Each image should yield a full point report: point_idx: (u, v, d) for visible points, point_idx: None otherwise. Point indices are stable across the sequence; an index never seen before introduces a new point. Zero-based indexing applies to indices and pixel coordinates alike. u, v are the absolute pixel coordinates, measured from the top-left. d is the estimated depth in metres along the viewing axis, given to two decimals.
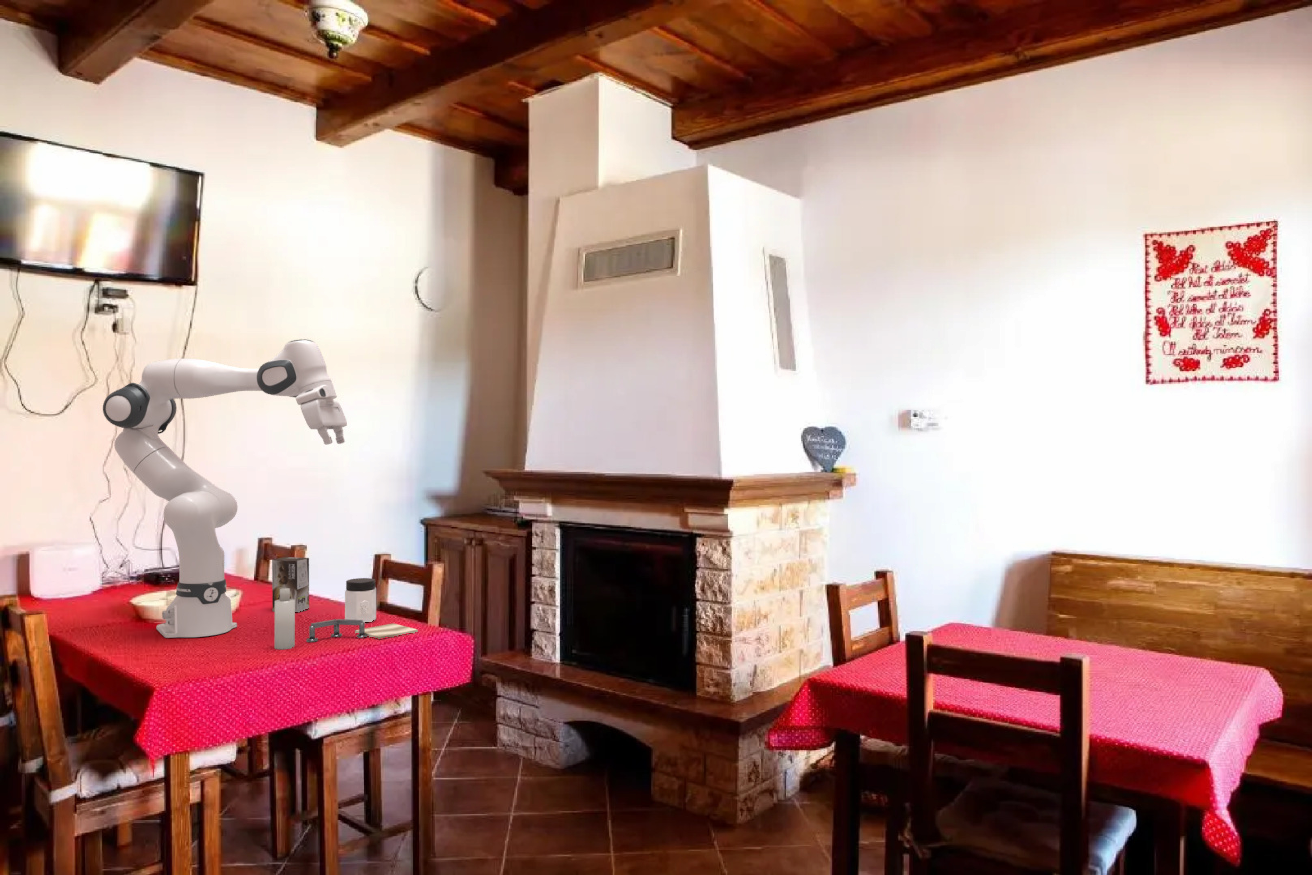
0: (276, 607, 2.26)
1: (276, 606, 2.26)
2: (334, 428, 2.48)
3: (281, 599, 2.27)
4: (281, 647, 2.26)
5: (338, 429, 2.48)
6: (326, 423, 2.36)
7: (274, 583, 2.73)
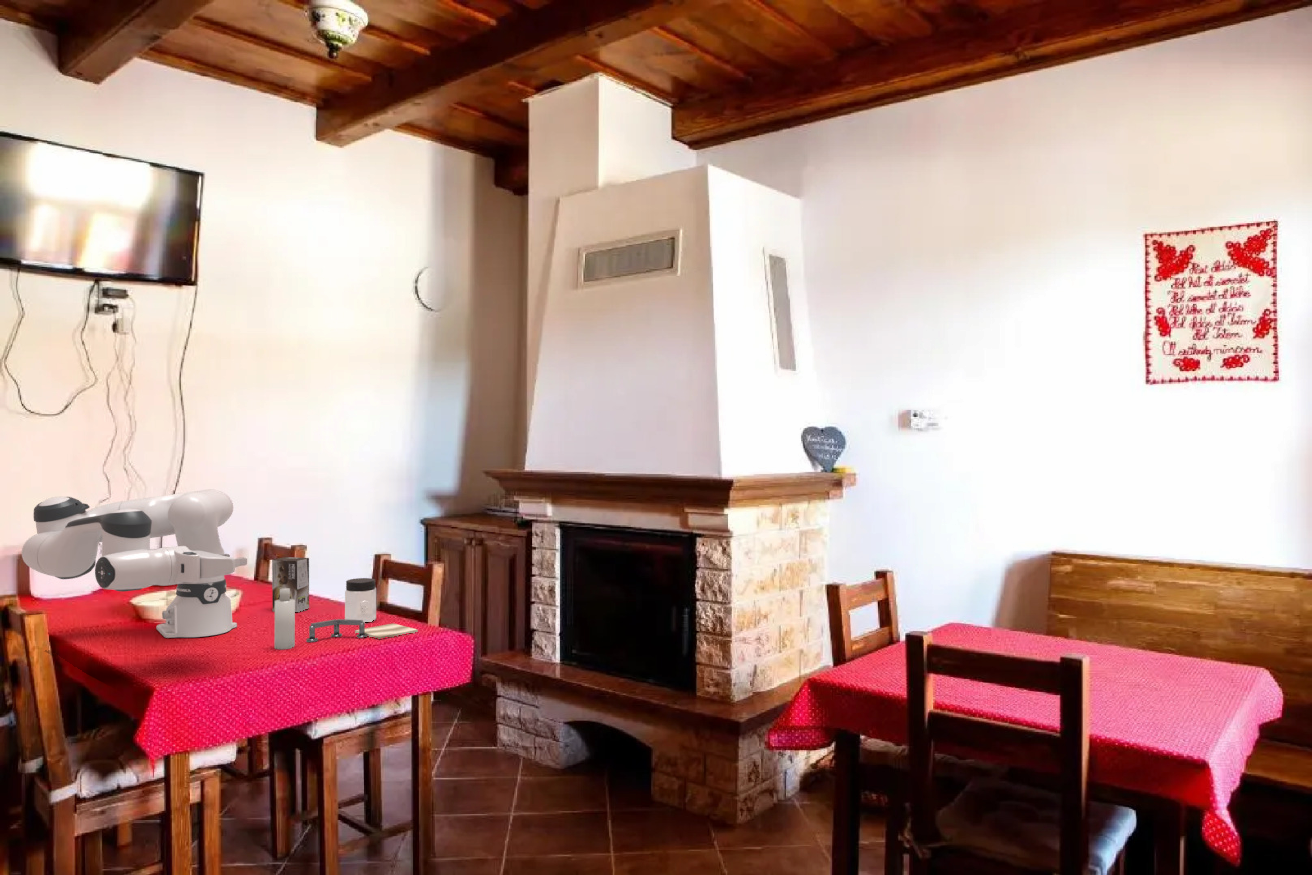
0: (276, 607, 2.26)
1: (276, 606, 2.26)
2: None
3: (281, 599, 2.27)
4: (281, 647, 2.26)
5: None
6: (227, 556, 2.11)
7: (274, 583, 2.73)
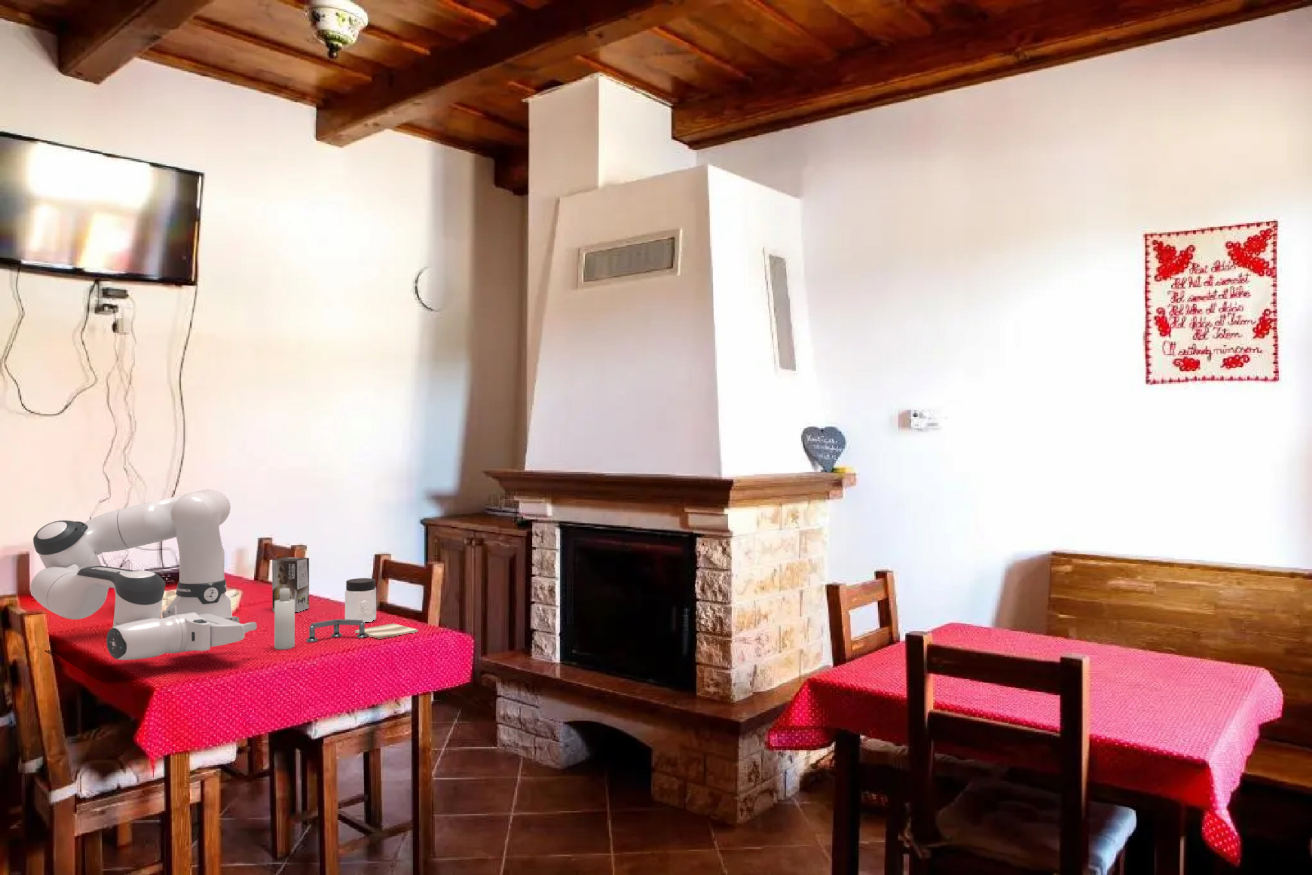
0: (276, 607, 2.26)
1: (276, 606, 2.26)
2: None
3: (281, 599, 2.27)
4: (281, 647, 2.26)
5: None
6: (236, 622, 2.12)
7: (274, 583, 2.73)
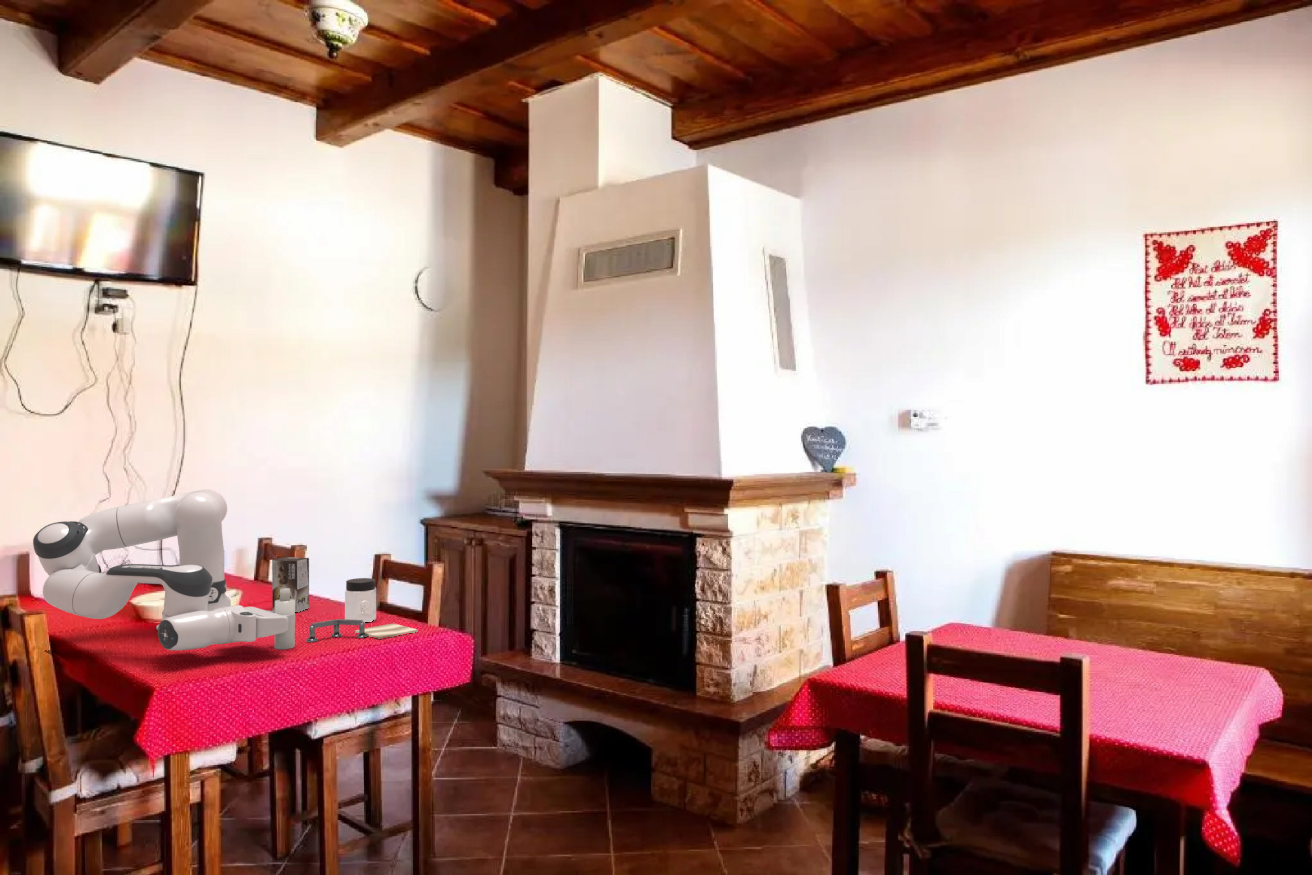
0: (276, 607, 2.26)
1: (276, 606, 2.26)
2: None
3: (281, 599, 2.27)
4: (281, 647, 2.26)
5: None
6: None
7: (274, 583, 2.73)
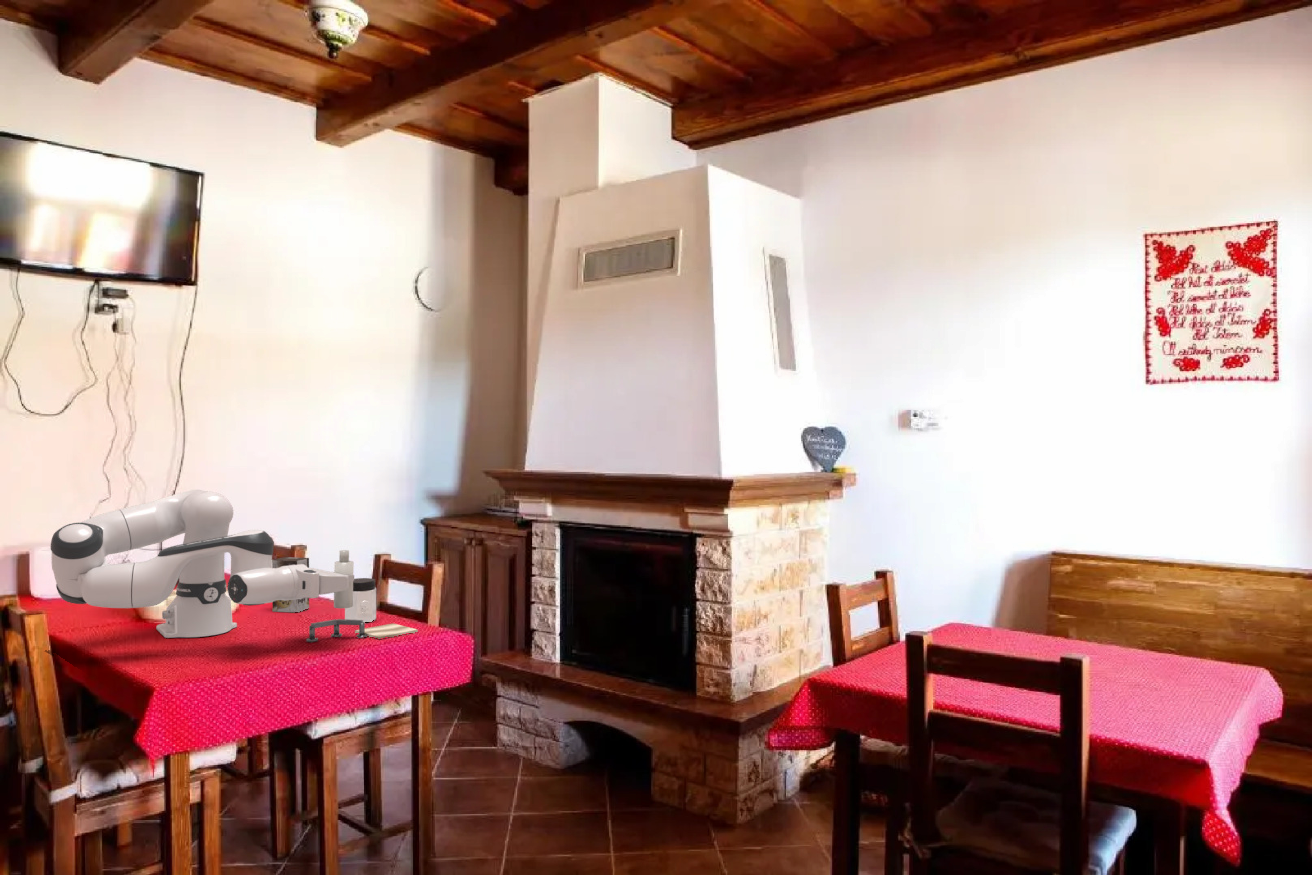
0: (336, 568, 2.37)
1: (336, 567, 2.37)
2: None
3: (341, 560, 2.38)
4: (340, 606, 2.36)
5: None
6: (341, 574, 2.31)
7: None
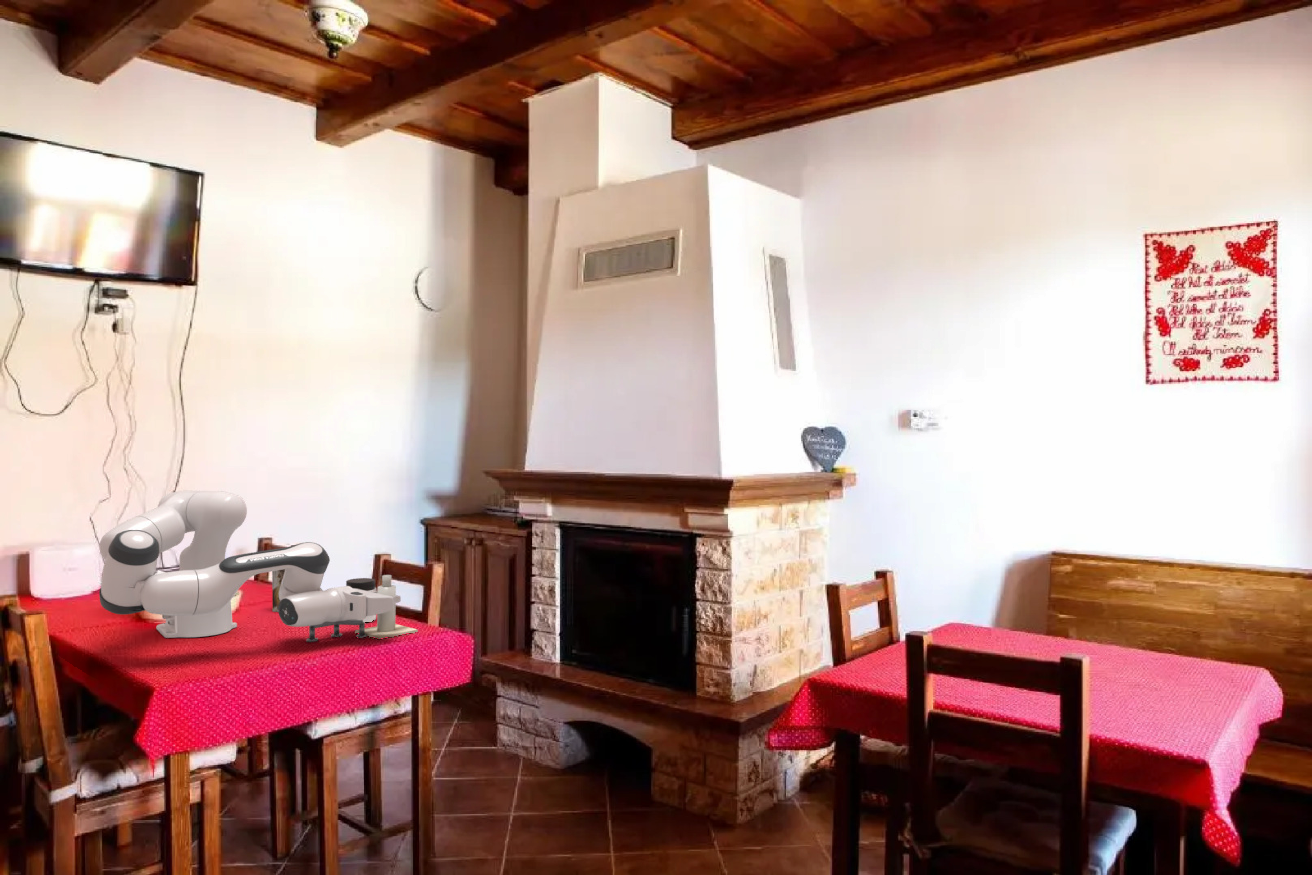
0: (379, 592, 2.43)
1: (379, 591, 2.43)
2: None
3: (384, 585, 2.44)
4: (384, 629, 2.43)
5: None
6: (385, 595, 2.38)
7: (274, 583, 2.73)
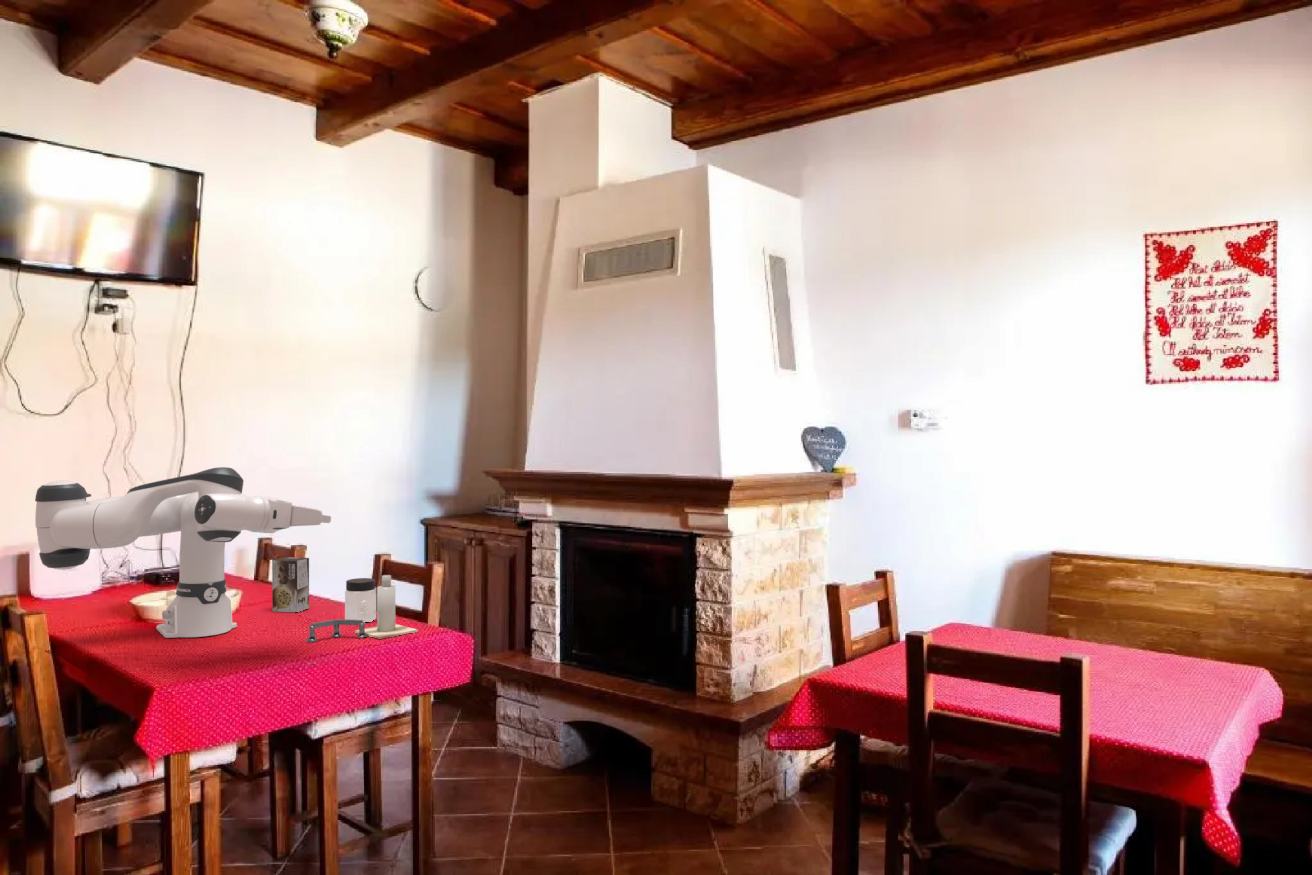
0: (379, 592, 2.43)
1: (379, 592, 2.43)
2: None
3: (383, 585, 2.44)
4: (384, 630, 2.43)
5: None
6: None
7: (274, 583, 2.73)
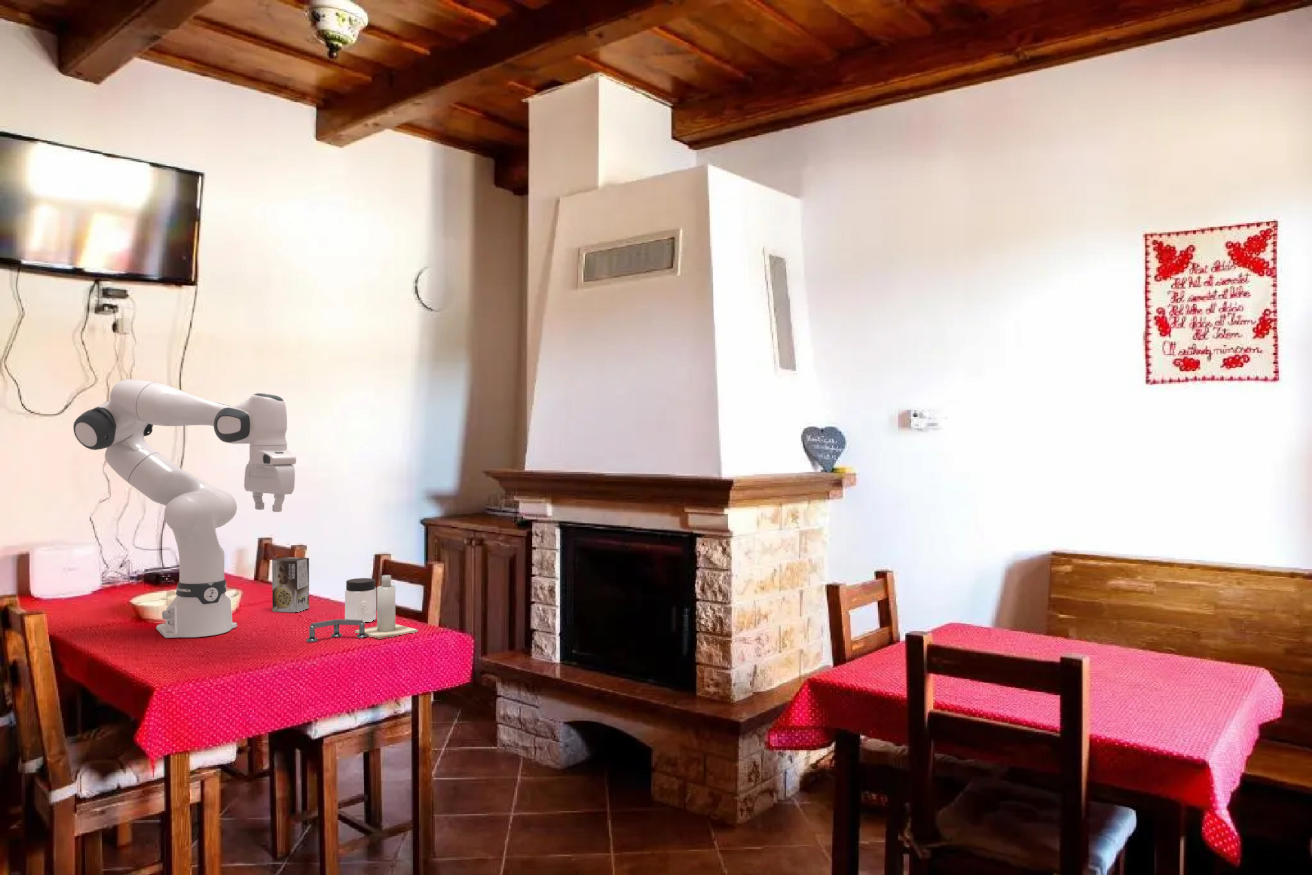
0: (379, 592, 2.43)
1: (379, 592, 2.43)
2: (256, 491, 2.31)
3: (383, 585, 2.44)
4: (384, 630, 2.43)
5: (260, 494, 2.31)
6: None
7: (274, 583, 2.73)
